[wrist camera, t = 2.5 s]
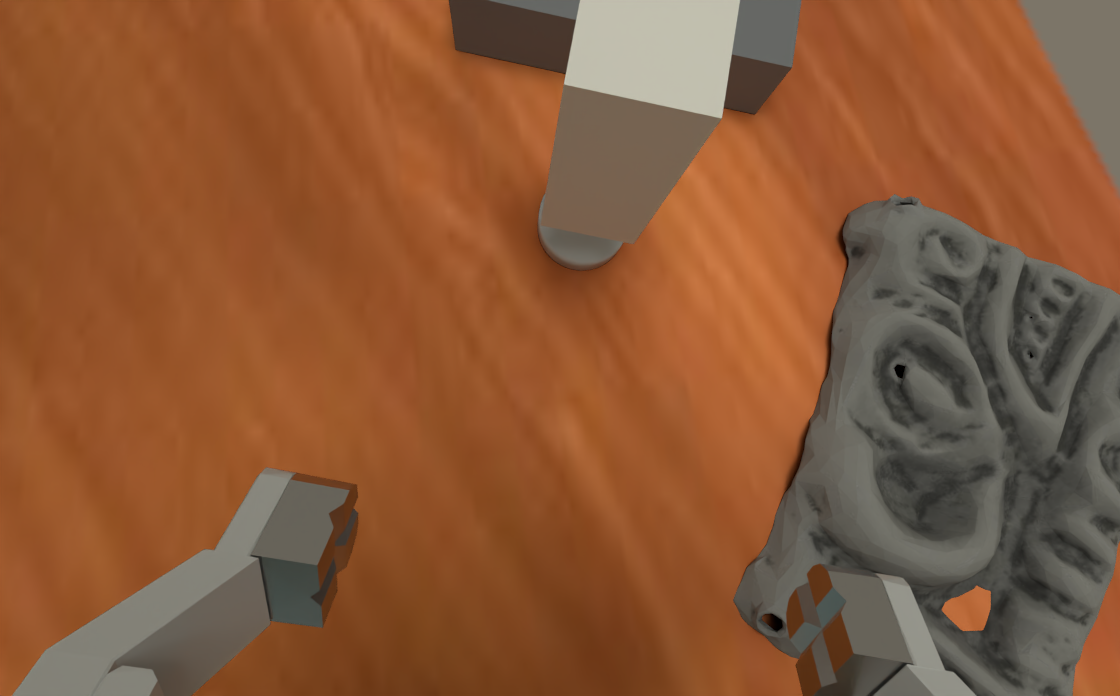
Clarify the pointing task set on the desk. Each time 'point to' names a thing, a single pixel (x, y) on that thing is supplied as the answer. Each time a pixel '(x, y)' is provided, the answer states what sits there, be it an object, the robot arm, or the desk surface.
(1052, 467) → the wall plaque
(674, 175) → the post
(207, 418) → the desk surface
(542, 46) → the keyhole plate
